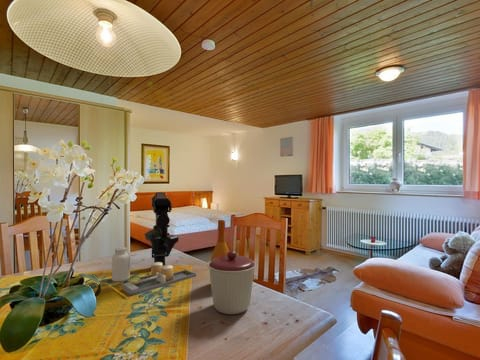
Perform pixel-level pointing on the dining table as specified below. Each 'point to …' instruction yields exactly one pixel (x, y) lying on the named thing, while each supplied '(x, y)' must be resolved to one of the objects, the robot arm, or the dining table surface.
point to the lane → (156, 283)
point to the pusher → (159, 278)
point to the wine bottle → (220, 242)
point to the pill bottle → (120, 264)
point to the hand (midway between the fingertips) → (161, 254)
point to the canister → (231, 282)
